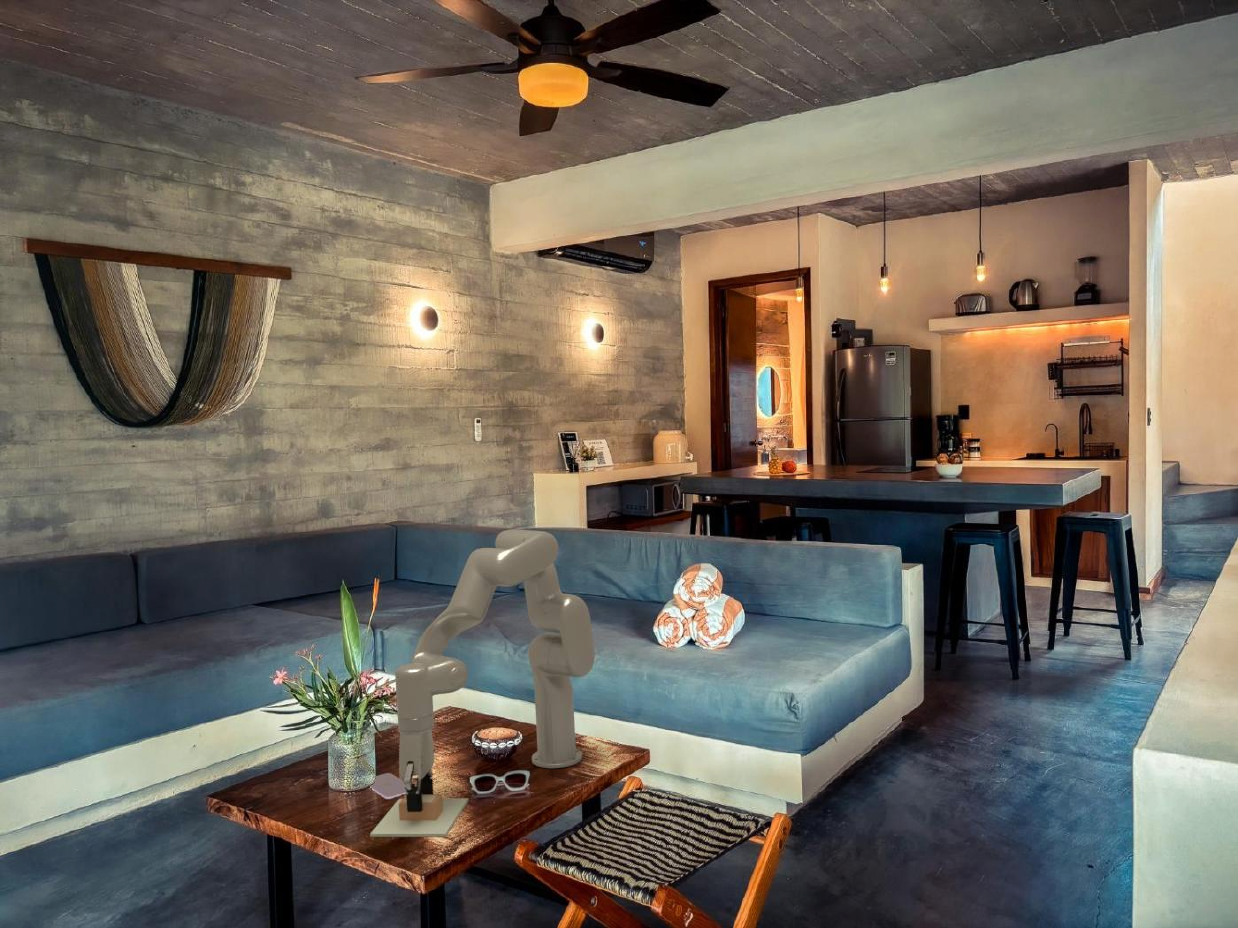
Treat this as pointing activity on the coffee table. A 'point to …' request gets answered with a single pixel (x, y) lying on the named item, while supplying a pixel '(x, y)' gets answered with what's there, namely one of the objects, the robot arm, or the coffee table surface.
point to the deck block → (430, 808)
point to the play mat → (420, 822)
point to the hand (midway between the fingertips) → (420, 803)
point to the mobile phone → (388, 786)
